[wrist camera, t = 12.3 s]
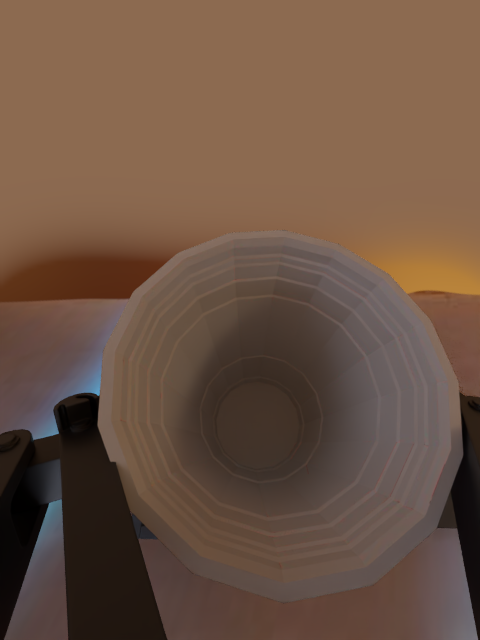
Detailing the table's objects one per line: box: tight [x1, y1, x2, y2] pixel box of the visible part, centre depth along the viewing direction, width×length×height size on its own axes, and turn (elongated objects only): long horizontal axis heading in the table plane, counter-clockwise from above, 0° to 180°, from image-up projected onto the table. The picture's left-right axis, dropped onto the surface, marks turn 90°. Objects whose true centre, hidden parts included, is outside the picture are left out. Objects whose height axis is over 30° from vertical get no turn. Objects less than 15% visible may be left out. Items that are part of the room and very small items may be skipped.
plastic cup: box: [98, 230, 463, 603], centre depth 14 cm, size 11×11×12 cm
